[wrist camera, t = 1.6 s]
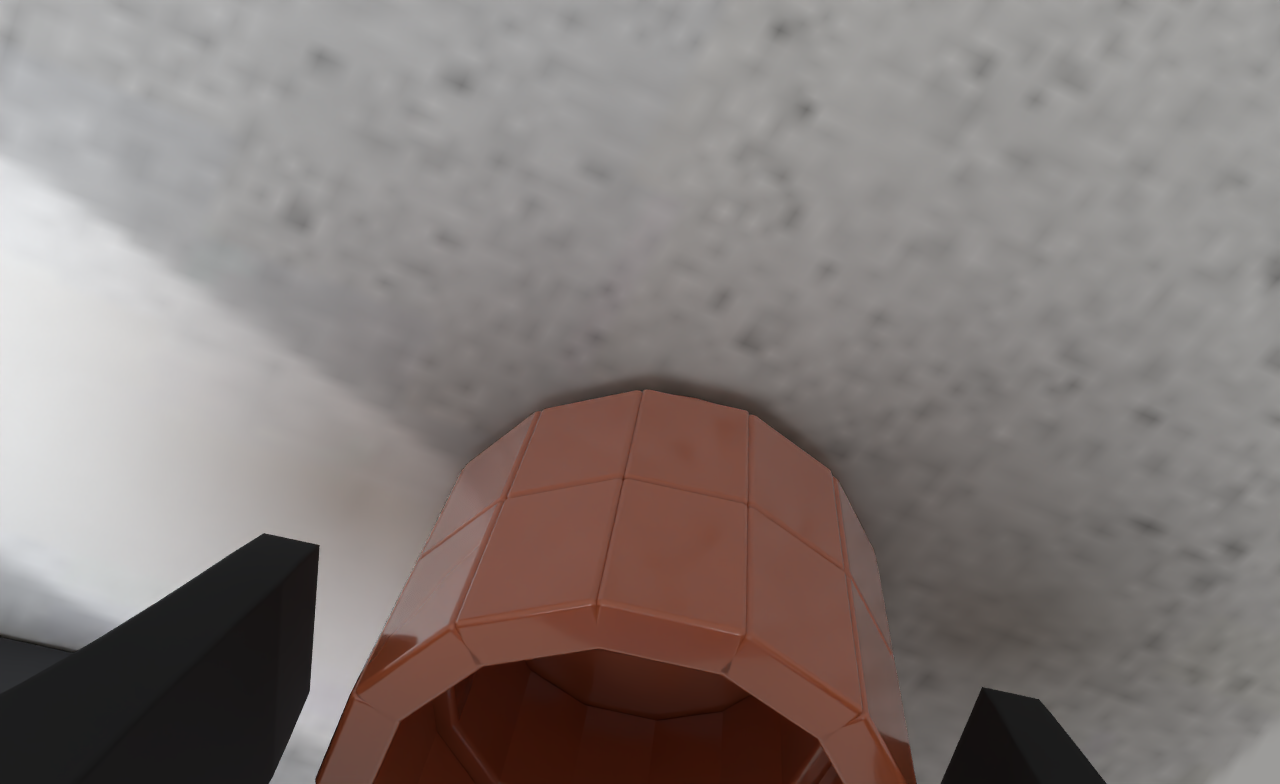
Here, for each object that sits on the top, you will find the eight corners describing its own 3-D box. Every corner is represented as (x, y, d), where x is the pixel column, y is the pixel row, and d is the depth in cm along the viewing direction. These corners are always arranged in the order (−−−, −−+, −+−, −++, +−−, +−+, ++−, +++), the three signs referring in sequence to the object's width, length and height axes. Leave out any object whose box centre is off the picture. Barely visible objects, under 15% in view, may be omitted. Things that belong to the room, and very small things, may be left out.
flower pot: (811, 767, 15) (832, 1097, 11) (421, 682, 15) (298, 980, 11) (930, 428, 13) (1014, 690, 9) (467, 329, 13) (330, 543, 9)
